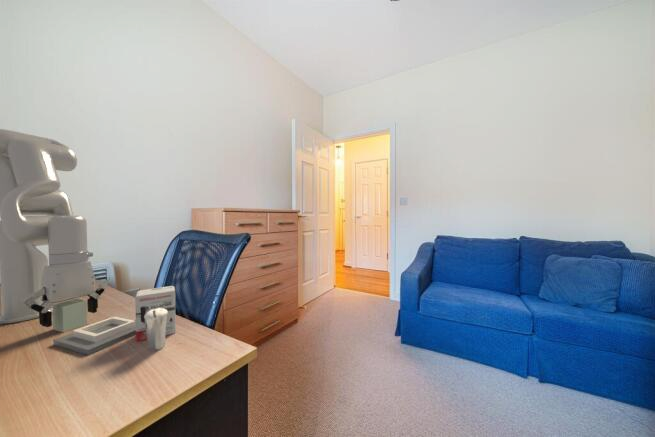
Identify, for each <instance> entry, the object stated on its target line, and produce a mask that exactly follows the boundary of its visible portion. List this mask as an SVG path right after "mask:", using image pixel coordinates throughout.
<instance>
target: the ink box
mask: <svg viewBox="0 0 655 437" xmlns="http://www.w3.org/2000/svg"><path fill="white" fill-rule="evenodd" d="M134 298H135V320H136V335H135V342H136V343H139V342H143V341H147V333H146V325H145V318H144V316H145V314H146V313H147V312H148V311H150V310H154V309H157V308H164V309H166V310H167V311H168V315H167V324H166V336H168V335H173V334H175V333H176V286H174V285H169V286H162V287H154V288H148V289H141V290H138V291H136V294H135V297H134Z"/></svg>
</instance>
